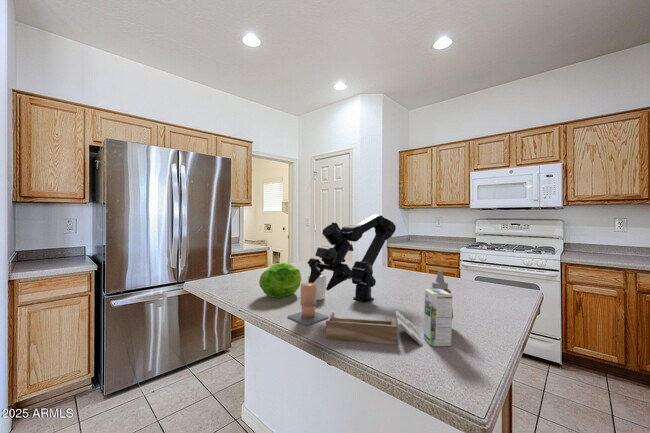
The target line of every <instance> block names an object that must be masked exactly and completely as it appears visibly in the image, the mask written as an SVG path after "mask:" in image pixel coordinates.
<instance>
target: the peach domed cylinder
mask: <svg viewBox="0 0 650 433" xmlns="http://www.w3.org/2000/svg"><path fill="white" fill-rule="evenodd" d="M316 304H317V300H316V284H315V283H308V282H303V283H302V282H301V283H300V305H301V312H302V318H305V319H311V318H314V317H315V312H316Z"/></svg>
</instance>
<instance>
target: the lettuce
mask: <svg viewBox="0 0 650 433" xmlns="http://www.w3.org/2000/svg"><path fill="white" fill-rule="evenodd" d="M301 284H302V273H301V271H300V269H299V268H298V267H296V266H295V265H292V264H290V263H287V262H278V263H274V264H272V265H270V266H268V268H266V269H265V270H264V271H263V272H262V274H261V275H260V277H259V287H260V289H261V290H262V291H263V294H265V295H266V296H268V297H270V298H276V299H282V298H286V297H288V296H291V295H292V294H294V293H296V292H297V291H298V290H299V288H300V287H301Z"/></svg>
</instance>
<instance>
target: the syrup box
mask: <svg viewBox="0 0 650 433" xmlns="http://www.w3.org/2000/svg"><path fill="white" fill-rule="evenodd" d="M423 308H424V311H423V312H424V315H423V339H424V340H425V341H426V342H427V343H428V344H429V345H430V346H431V347H450V346H452V326H453V324H452V323H453V319H452V309H453V294H452V293H451V294H450V293H448V292H446V291H444V290H443V289H430V288H426V289H424V307H423Z"/></svg>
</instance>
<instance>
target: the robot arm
mask: <svg viewBox="0 0 650 433" xmlns="http://www.w3.org/2000/svg"><path fill="white" fill-rule="evenodd" d="M371 229H374V233H375V235H374V238H373V239H372V241H371V243H370V245H369V246H368V248H367V250H366V252H365V253H364V256H363V258H362V260H360V261H359V260H358V261H357V260H356V261H355V262H354V264H353V266H352V267H351V268H350V267H349V265H348V264H347V263H346V259H345V258H346V256H347V254H348V252H349V251H350V252H354V247H353V244H352V243H353V242H354V243H355V242H358V241H359V240H361V238H363V234H365V233H366V232H368V231H369V230H371ZM396 230H397V225H395V223H394V222H393V221H392V220H390V219H388V218H386V217H384V216H383V215H381V214H372V215H370V216H369V217H367V218H366V219H363V220H362V221H359V222H357V223H356V224H351V225H346V226H342V228H340V226H339V225H338V223H337V222H332V223H331V224H329V225H327V226H326V227H324V228H323V229H322V236H323V237H324V238H325V239H326V241H327V242H328V244H330V246H333V247H329V248H325V247H317V249H316V252H315V255H314V256H315V257H318V258H313V257H311V258H309V260H308V261H307V265H308V267H309V268H310V273H311V274H310V273H309V274H310V278H309V283H314V282H315V281H316V280H317V279H318V277H319V276H320V275H321V273H323V272H324V270H325V271H330V272H332V275H331V278H330V280H329V282H328V283H327V284H326V288H325V291H330V290H331V289H333V288H334V287H336V286H337V285H339V284H342V283H343V282H345V281H348V280H351V282H352V284H353V285H355V291H354V292H355V296H354V297H353V298H352V299H354V300H356V301H359V302H362V303H366V302H371V301H374V299H375V298H374V297H372V288H374V286H375V287H376V283H377V282H376V281H377V280H376V279H375V277H374V276H373V274H374V269H373V266H374V263H375V262H376V259H377V258H378V256H379V255H380V252H381V250H382V248H383V246H384V245H385V242H386V241H387V240H388V239H390V238H392V236H393V235H394V234H395V232H396ZM350 242H352V243H350ZM319 258H320V259H319ZM322 262H323V263H322Z"/></svg>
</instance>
